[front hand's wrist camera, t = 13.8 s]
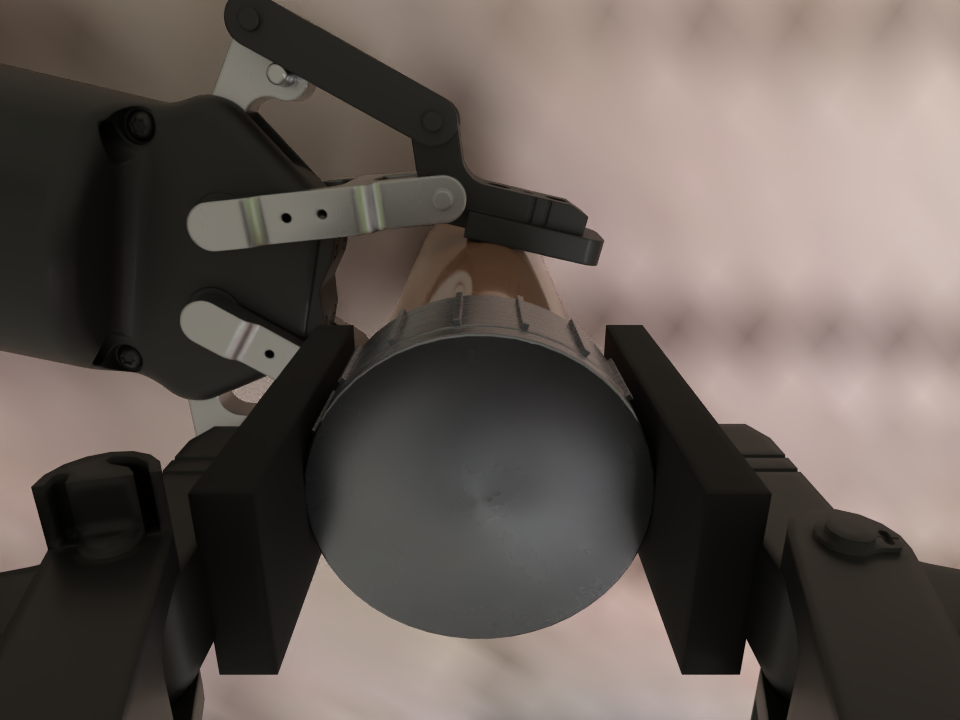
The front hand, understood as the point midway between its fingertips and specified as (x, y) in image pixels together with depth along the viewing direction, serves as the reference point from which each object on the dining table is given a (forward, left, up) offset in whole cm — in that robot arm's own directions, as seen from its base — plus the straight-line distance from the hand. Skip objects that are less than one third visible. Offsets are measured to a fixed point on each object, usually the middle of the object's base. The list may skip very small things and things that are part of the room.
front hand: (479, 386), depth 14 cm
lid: (0, 0, +4) cm, 4 cm away
